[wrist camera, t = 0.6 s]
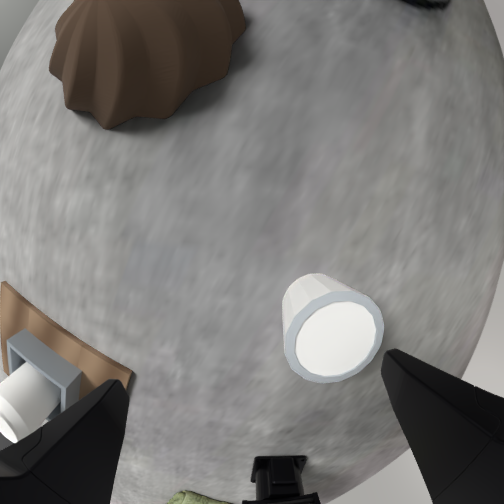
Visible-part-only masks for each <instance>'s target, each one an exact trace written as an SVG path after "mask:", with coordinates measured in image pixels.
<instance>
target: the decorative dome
mask: <svg viewBox="0 0 504 504" xmlns="http://www.w3.org/2000/svg"><path fill="white" fill-rule="evenodd" d="M245 29H246V24H245V19H244V14H243V11H242V7H241V5H240V2H239V0H74V2H73V3H72V4H71V5H70V6H69V7H68V9H67V10H66V11H65V12H64V13H63V14H62V16H61V17H60V19H59V20H58V22H57V24H56V27H55V32H56V39H57V41H56V44H55V47H54V50H53V53H52V56H51V59H50V64H49V71H50V73H51V74H52V75H54V76H55V77H56V78H58V79H59V80H60V81H61V82H62V83H63V90H64V99H65V106H66V108H67V109H70V110H79V111H87V112H90V113H91V114H92V115H93V116H94V118H95V119H96V120H97V121H98V123H99V124H100V125H101V126H102V128H103V129H106V130H108V129H111V128H113V127H115V126H117V125H119V124H121V123H123V122H125V121H127V120H129V119H132V118H134V117H148V118H160V119H166V118H169V117H170V116H172V115H173V113H174V112H175V111H176V110H177V109H178V107H179V106H180V105H181V104H182V102H183V101H184V100H185V99H186V98H187V97H188V95H189V94H190V93H191V92H192V91H193V90H196V89H198V88H200V87H202V86H205V85H207V84H210V83H212V82H215V81H217V80H220V79H222V78H224V77H225V76H226V75H227V72H228V68H229V63H230V58H231V49H232V44H233V43H234V42H235V41H236V40H237V39H238V38H239V36H240V35H241V34H242V33H243V32H244V31H245Z"/></svg>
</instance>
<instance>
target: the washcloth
mask: <svg viewBox="0 0 504 504" xmlns="http://www.w3.org/2000/svg"><path fill="white" fill-rule="evenodd" d="M167 504H231V503H228V502H225V501H224V502H219V501H216V500H213V499H209V498H207V497H205V496H201V495H199V494H196V493H193V492H190V491H182V492H179V493H176V495H174V497H173V498H172V499H170V501H169V502H168V503H167Z"/></svg>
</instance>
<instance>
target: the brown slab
mask: <svg viewBox="0 0 504 504" xmlns="http://www.w3.org/2000/svg"><path fill="white" fill-rule="evenodd" d="M25 328H26V329H27V330H28V331H29V332H30V333H31V334H33V335H34V336H35V337H36V338H38V339H39V340H40V341H41V342H43V343H44V344H45V345H46V346H48V347H49V348H50V349H52V350H53V351H54V352H56V353H57V354H58V355H60V356H61V357H63V358H64V359H65V360H67V361H68V362H70V363H71V364H73V365H74V366H76V367H77V368H79V369H80V370H82V375H81V383H80V391H79V400H80V399H81V398H83V397H84V396H86V395H87V394H88V393H90V392H91V391H93V390H94V389H95V388H97V387H98V386H100V385H101V384H102V383H104V382H105V381H107V380H108V379H119V380H120V381H121V382H122V384H123V386H124V388H125V389H126V390H127V387H128V384H129V380H130V377H131V374H132V370H130V369H128V368H126V367H125V366H123V365H121V364H119V363H117V362H116V361H114V360H112V359H110V358H109V357H107V356H105V355H104V354H102V353H100V352H99V351H97V350H95V349H94V348H92V347H91V346H89V345H87V344H86V343H84V342H83V341H81V340H80V339H78V338H77V337H75V336H74V335H72V334H71V333H69V332H68V331H67V330H65V329H64V328H62V327H61V326H60V325H58V324H57V323H55V322H54V321H53V320H51V319H50V318H49V317H47V316H46V315H45V314H44V313H42V312H41V311H40V310H38V309H37V308H36V307H35V306H33V305H32V304H31V303H30V302H29V301H27V300H26V299H25V298H24V297H23V296H21V295H20V294H19V293H18V292H17V291H16V290H15V289H13V288H12V287H11V286H10V285H9V284H8V283H7V282H6V281H3V282H1V291H0V333H1V349H2V359H3V368H4V372H5V373H6V374H7V375H8V376H10V374H9V365H8V354H7V339H9V338H11V337H12V336H14V335H15V334H17V333H18V332H20V331H21V330H23V329H25Z"/></svg>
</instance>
